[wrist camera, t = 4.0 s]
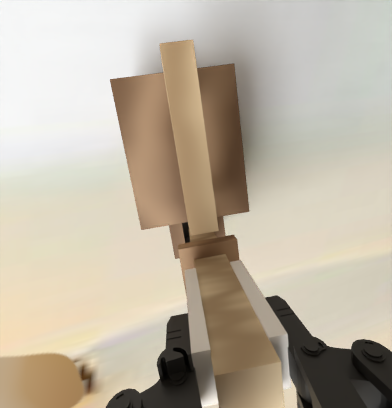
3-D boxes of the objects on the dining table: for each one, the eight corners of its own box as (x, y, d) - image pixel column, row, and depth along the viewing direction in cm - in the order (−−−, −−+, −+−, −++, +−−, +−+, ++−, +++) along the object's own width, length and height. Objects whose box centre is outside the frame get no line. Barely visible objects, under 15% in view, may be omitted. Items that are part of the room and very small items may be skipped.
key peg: (218, 214, 24) (306, 332, 8) (223, 252, 25) (311, 427, 9) (177, 221, 23) (181, 357, 7) (184, 259, 24) (199, 453, 8)
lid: (230, 69, 23) (272, 1, 13) (248, 240, 27) (291, 287, 17) (114, 84, 22) (65, 24, 12) (150, 257, 26) (134, 317, 16)
